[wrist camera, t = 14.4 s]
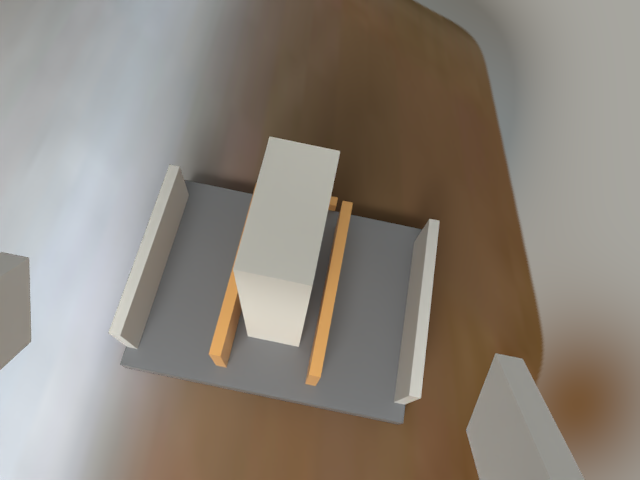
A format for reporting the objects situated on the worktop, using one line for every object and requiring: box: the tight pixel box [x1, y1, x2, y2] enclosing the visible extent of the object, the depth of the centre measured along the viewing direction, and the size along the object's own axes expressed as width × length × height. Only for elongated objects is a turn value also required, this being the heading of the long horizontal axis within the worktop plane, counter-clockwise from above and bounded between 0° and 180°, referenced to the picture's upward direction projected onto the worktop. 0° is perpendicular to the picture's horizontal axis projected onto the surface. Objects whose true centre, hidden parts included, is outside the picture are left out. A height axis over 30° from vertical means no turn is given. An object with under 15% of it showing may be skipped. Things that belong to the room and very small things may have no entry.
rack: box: [109, 164, 440, 424], centre depth 30 cm, size 13×16×5 cm
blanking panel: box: [233, 137, 340, 347], centre depth 25 cm, size 6×3×12 cm, turn 169°
